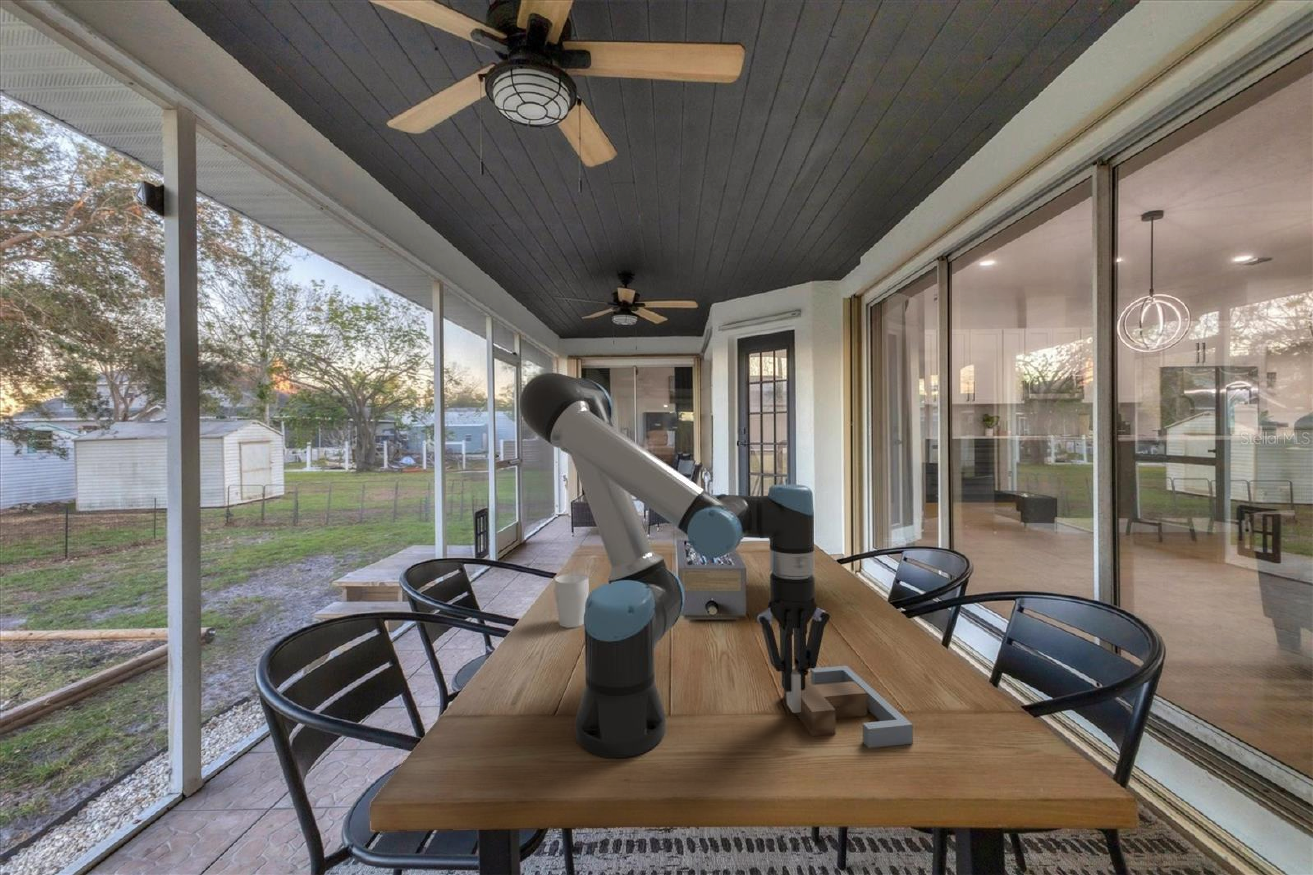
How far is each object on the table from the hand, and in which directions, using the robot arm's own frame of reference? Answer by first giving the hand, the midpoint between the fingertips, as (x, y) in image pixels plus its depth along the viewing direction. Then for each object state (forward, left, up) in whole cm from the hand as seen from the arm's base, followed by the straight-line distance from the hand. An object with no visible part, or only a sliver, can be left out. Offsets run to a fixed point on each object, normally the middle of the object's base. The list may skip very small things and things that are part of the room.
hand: (793, 708), depth 84 cm
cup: (-40, +50, -2) cm, 64 cm away
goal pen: (+12, 0, -2) cm, 12 cm away
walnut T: (+7, 0, -2) cm, 7 cm away
